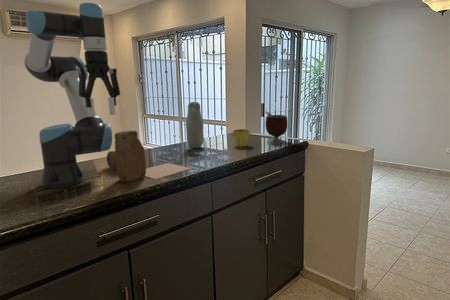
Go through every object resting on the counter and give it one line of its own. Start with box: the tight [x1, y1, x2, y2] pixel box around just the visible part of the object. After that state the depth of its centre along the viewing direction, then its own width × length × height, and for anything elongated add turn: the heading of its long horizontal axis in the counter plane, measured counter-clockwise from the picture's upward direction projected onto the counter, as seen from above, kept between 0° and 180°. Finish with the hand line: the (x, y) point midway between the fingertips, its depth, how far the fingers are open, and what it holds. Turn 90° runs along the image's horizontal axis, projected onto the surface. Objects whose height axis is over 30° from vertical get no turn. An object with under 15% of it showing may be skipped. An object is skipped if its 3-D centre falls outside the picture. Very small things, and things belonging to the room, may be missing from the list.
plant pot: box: [232, 128, 250, 148], centre depth 188 cm, size 10×10×10 cm
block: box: [114, 130, 147, 183], centre depth 123 cm, size 11×8×20 cm
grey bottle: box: [185, 101, 205, 149], centre depth 183 cm, size 10×10×28 cm
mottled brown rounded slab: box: [106, 150, 117, 171], centre depth 141 cm, size 15×3×8 cm, turn 49°
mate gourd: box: [264, 110, 288, 145], centre depth 196 cm, size 16×14×20 cm
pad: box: [144, 162, 192, 181], centre depth 136 cm, size 20×17×1 cm
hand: (102, 115), depth 112 cm, fingers open, 7 cm apart
